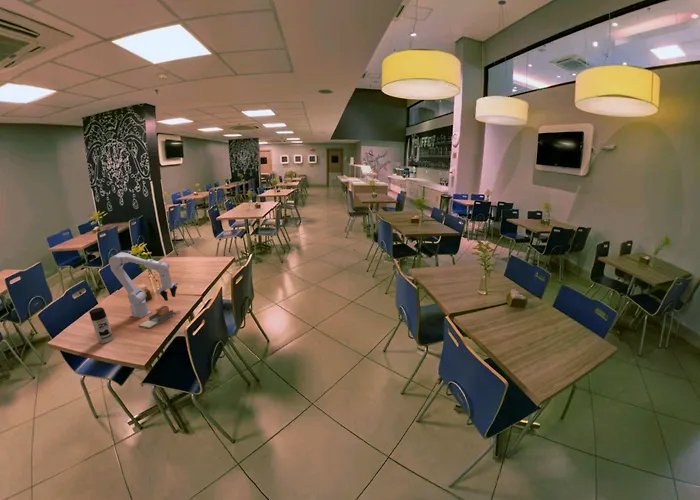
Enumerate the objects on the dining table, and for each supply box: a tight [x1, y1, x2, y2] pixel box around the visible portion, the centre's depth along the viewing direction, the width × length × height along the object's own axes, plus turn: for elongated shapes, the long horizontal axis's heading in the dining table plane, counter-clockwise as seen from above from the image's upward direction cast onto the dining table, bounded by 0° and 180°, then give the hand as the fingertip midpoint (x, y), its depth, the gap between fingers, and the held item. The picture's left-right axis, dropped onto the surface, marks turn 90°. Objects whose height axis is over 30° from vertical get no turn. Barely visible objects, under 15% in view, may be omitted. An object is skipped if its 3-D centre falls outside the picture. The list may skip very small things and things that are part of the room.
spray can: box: [88, 306, 114, 344], centre depth 165 cm, size 7×7×20 cm
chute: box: [138, 309, 175, 330], centre depth 187 cm, size 9×18×3 cm, turn 162°
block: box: [155, 305, 170, 317], centre depth 191 cm, size 5×5×6 cm
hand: (170, 298), depth 196 cm, fingers open, 5 cm apart
